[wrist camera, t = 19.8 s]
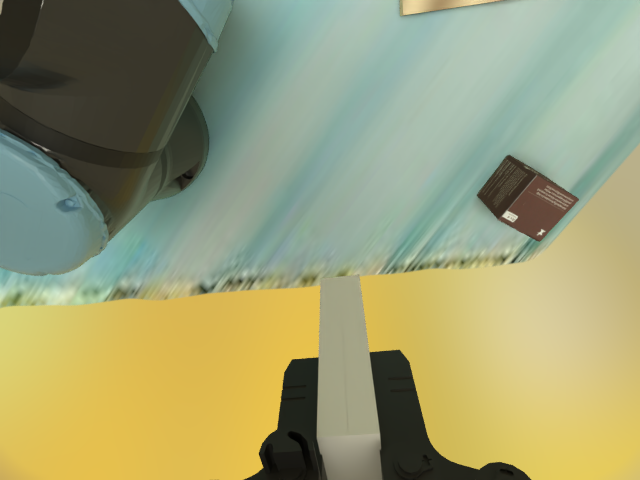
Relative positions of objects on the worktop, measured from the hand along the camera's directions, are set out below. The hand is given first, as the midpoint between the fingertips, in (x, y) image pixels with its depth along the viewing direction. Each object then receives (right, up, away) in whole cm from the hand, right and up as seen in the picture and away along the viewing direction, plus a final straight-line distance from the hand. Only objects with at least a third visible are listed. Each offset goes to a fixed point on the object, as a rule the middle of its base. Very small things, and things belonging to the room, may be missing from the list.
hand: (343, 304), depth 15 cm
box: (+23, +9, +32) cm, 40 cm away
